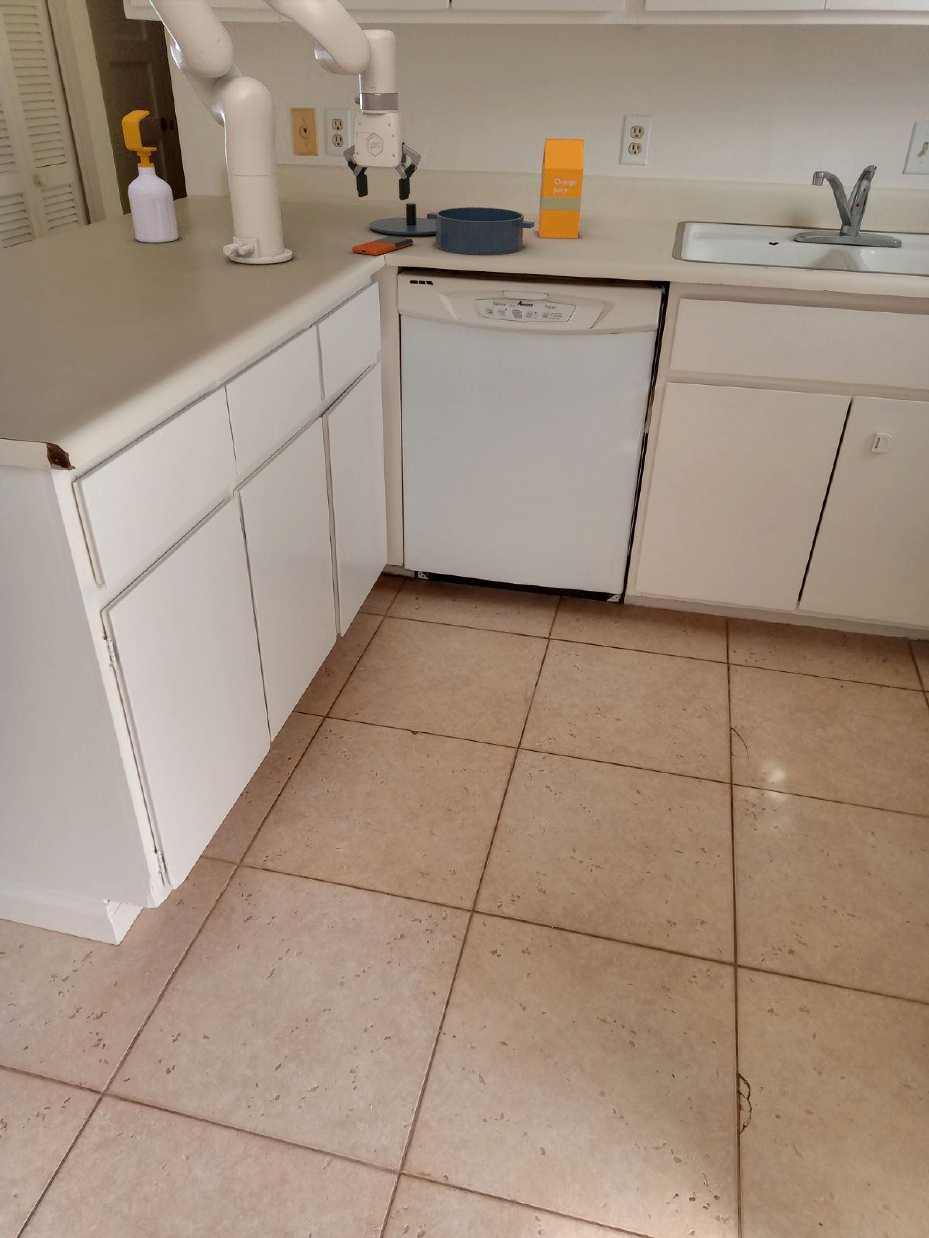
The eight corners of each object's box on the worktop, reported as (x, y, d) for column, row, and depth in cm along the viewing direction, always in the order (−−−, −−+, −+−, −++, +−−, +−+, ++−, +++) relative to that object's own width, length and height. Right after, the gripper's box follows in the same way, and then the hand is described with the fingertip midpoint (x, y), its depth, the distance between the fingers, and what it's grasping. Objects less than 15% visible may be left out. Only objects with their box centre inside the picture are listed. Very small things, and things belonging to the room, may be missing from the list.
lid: (431, 240, 201) (431, 213, 198) (353, 232, 207) (352, 206, 204) (466, 227, 216) (466, 201, 213) (393, 219, 222) (392, 195, 219)
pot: (515, 259, 185) (517, 226, 181) (410, 248, 193) (410, 215, 189) (545, 244, 199) (547, 213, 196) (446, 234, 207) (446, 204, 204)
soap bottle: (187, 238, 197) (169, 111, 184) (159, 245, 190) (138, 113, 177) (155, 234, 200) (135, 109, 187) (127, 240, 193) (104, 111, 180)
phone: (350, 246, 186) (389, 235, 197) (350, 253, 187) (389, 241, 198) (376, 249, 184) (414, 238, 195) (376, 256, 185) (414, 245, 196)
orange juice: (577, 238, 206) (586, 141, 195) (540, 237, 206) (546, 140, 195) (574, 232, 213) (582, 138, 202) (537, 231, 213) (543, 137, 202)
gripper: (332, 103, 177) (338, 198, 186) (410, 106, 171) (412, 203, 180) (350, 101, 182) (355, 193, 192) (426, 104, 177) (428, 198, 186)
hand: (383, 198), depth 186 cm, fingers open, 9 cm apart
